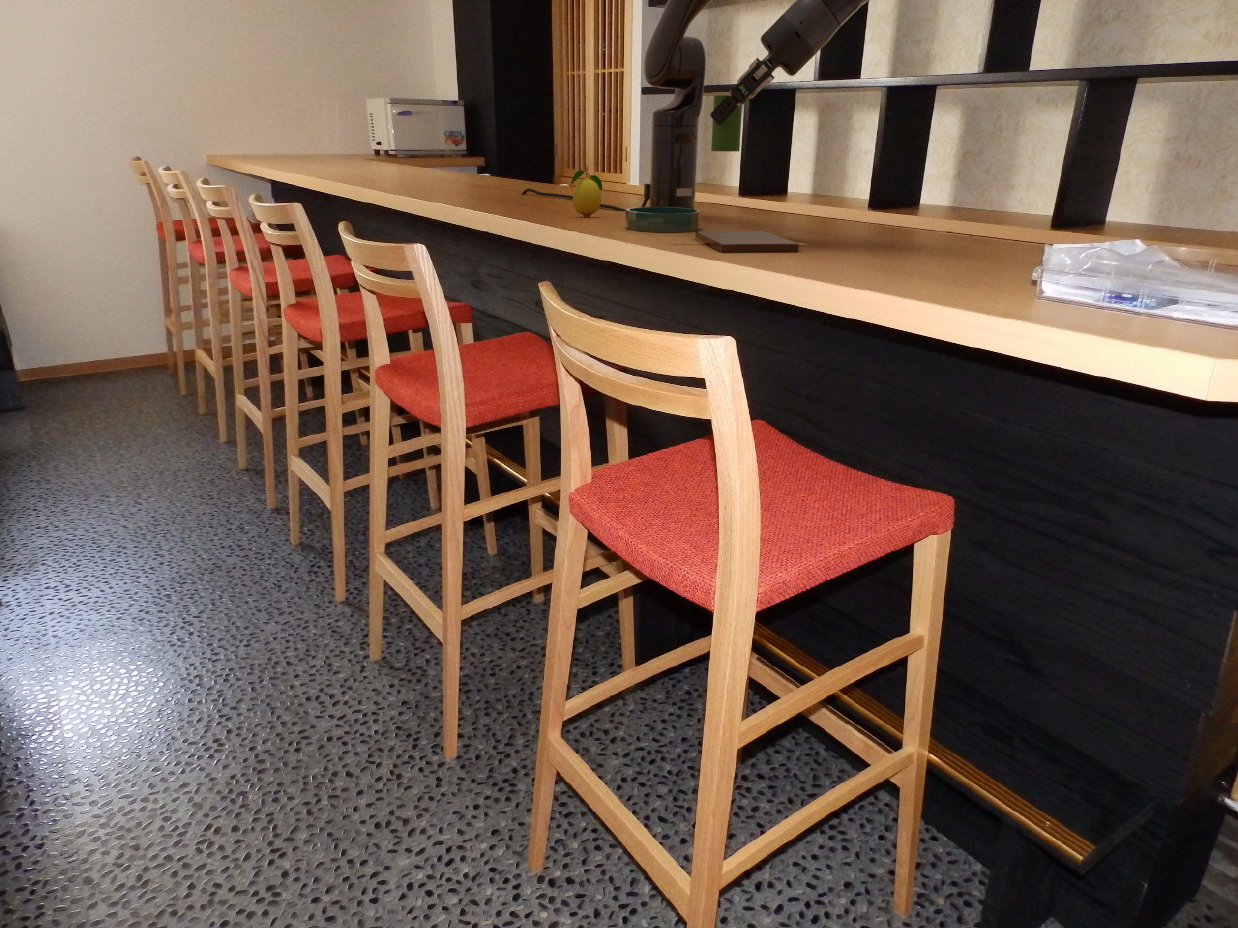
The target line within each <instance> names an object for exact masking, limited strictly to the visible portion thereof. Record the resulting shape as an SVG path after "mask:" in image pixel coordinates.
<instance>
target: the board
mask: <svg viewBox="0 0 1238 928" xmlns="http://www.w3.org/2000/svg"><path fill="white" fill-rule="evenodd" d="M695 238H696V239H698V240H701V241H703V242H704V243H703V244H704V245H705V246H708V247H710V248H712V249H714V250H716V251H718V252H720V253H798V252H799V249H800V244H799V243H798V242H795V241H792V240H789V239H787V238H784V237H782V236H779V235H777V234H773V233H770V232H768V231H765V230H763V231H762V230H760V231H758V230H755V231H753V230H751V231H749V230H748V231H742V230H741V231H739V230H738V231H736V230H734V231H731V230H730V231H724V230H723V231H695Z"/></svg>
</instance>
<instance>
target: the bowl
mask: <svg viewBox="0 0 1238 928" xmlns="http://www.w3.org/2000/svg"><path fill="white" fill-rule="evenodd" d="M701 212H702V211H701V210H699V209H697V208H695V209H690V208H678V207H650V206H645V207H641V206H638V207H629V208H626V211H625V223H624V224H625V229H627V230H630V231H636V232H642V233H643V232H644V233H661V234H662V233H664V234H665V233H670V234H671V233H676V234H677V233H690V232H698V231H699V230H700V229H701Z"/></svg>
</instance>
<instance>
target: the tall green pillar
mask: <svg viewBox="0 0 1238 928" xmlns="http://www.w3.org/2000/svg"><path fill="white" fill-rule="evenodd" d="M727 96H728V94H716V95H713V102H712V103H713V106H712V111H713V110H714V109H715V108H716V107H717V106H718V105H719V104H720V103H721V102H722V101H723V100H724V99H725V98H726V97H727ZM728 98H730V97H729V96H728ZM735 106H736V105H735ZM736 107H737V106H736ZM742 111H743V104H742V105H741V106H739V107H737V108H736V109H735V110H734V111H733V112H732V113H731V114H730V115H729V116H728V117H727V118H726V119H725V120H724V121H723V122H722V123H721V124H717V123H716V122H715V121H714V120H713V119H712V123H711V125H712V126H711V148H710V149H711V152H740V150H741V149H740V146H741V129H742V113H743V112H742Z"/></svg>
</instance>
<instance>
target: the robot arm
mask: <svg viewBox="0 0 1238 928" xmlns="http://www.w3.org/2000/svg"><path fill="white" fill-rule="evenodd" d="M713 1H714V0H667V1H666V5H665V7H664V9H663V11H662V13H661V15H660V18H659V20H658V22H657V24H656V26H655V28H654V31H653V33H652V35H651V37H650V40H649V42H648V46H647V47H646V51H645V55H644V60H643V75H644V78H645V80H646V82H647V84H648V85H649V86H651V87H654V88H657V89H658V88H659V89H669V90H670V89H672V90H674V95H673V98H672V99H671V101H670V102H668V103H667V104H666V105H664V106H661V107H659V108H657V109H655V110H654V111H653V112H652V115H651V140H650V141H651V143H650V146H651V147H650V182H649V183H644V184H643V185H644V187H643V202H642V204H641V206H640V207H647V204H648V202H649V207H678V208H690V209H696V207H695V206H696V189H697V188H696V186H697V168H698V167H697V165H698V164H697V163H698V145H699V144H698V143H699V142H698V141H699V121H700V117H701V113H702V109H703V103H704V102H703V101H704V91H705V80H706V67H707V57H706V49H705V45H704V44H703V42H702V40H701V39H699V38H698V37H694V36H686V35H685V34H686V32H687V31H688V29H689V27H690V25H691V24H692V22H693V21H694V20H695V19H696V18H697V16H698V15H699V14H700V13H701V12H702V11H704V9H706V8H707V6H709V5H710V4H711V3H712V2H713ZM870 1H871V0H795V1H794V2H793V3H792V4H791V5H790V6H789V7H788V8H787V9H786V10H785V12H783V13H782V14H781V15H780V17H779V18H777V19H776V21H774V23H772V24H771V26H770V27H768V29H767V30H766V31H765V32H764V33H763V34H762V35H761V36H760V42H761V45H762V46H763V47H764V49H765V50H766V51H767V55H766V56H765V57H763V59H762V60H761V59H759V57H756V58H755V59H754V60H753V61H752V62H751V63H750V65H749V66H748V68H747V70H745V72H744V73H743V74H741V76H740V77H739V78H738V79H737V81H736V85H735V86H733V87H731V90H729V91H728V93H727V95H728V96H729V97H730V98H728V96H727V97H726V98H725V99H724V100H723V101H722V102H721V103H720V104H719V105H718V106H717V107H716V108H715V109H714V110H713V109H712V111H711V112H710V114H709V115H710V118H711V119H712V121H713V120H714V121H715V122H716V123H717V124H721V123H722V122H723V121H724V120H725V119H726V118H727V117H728V116H729V115H730V114H731V113H732V112H733V111H734V110H735V109H736V108H737V107H739V106H741V105H742V106H743V105H745V103H746V101H748V100H752V99H754V98H755V96H756V95H757V94H758V93H760V91H761V90H762V89H764V88H766V87H767V86H769V84H771V83H772V81H773V80H774V79H775V76H774V75H773V73H774V72H775V71H776V70H777V69H778V68H781V70H783V71H784V72H785V73H786V74H787V75H788V76H790V77H793V76H796V74H798V72H799V71H801V70H802V69H803V67H804V66H805V65H807V63H808V62H809V61H811V60H812V58H814V56H815V55H817V53H819V52H820V50H821V49H823V48H824V47H825V46H826V45H827V43H829V41H831V39H832V37H834V35H835V34H836V33H837V31H838V30H839V29H840V28H841V27H842V26H843V25H844V24H845V23H846V22H847V21H848V20H849V19H850V18H851V17H852V16H853V15H854V14H855V13H856V12H857V11H858V10H859V9H860V8H861V7H862V6H863V5H865V4H866V3H868V2H870ZM735 105H736V106H737V107H736V106H735ZM529 192H531V193H533V194H536V195H538V196H545V197H553V198H555V197H556V198H562V199H570V200H573V195H569V194H564V193H563V194H562V193H553V192H552V193H551V192H542V191H538V190H536V189H533V188H526V189H524V190H523V191H522V193H521V195H522V196H523V195H526V194H527V193H529ZM599 208H604V209H608V210H609V209H610V210H615V211H617V212H626V209H627V208H626V209H625V208H623V207H619V206H617V205H612V204H606V203H600V207H599Z"/></svg>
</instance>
